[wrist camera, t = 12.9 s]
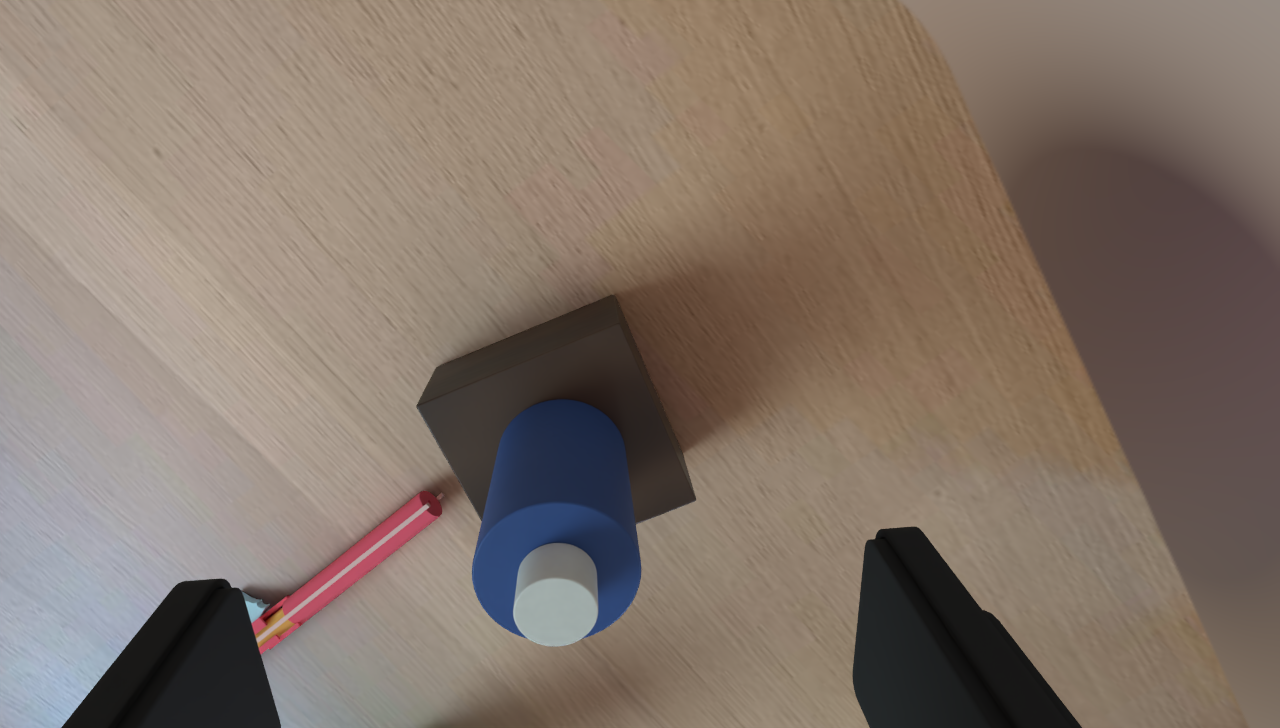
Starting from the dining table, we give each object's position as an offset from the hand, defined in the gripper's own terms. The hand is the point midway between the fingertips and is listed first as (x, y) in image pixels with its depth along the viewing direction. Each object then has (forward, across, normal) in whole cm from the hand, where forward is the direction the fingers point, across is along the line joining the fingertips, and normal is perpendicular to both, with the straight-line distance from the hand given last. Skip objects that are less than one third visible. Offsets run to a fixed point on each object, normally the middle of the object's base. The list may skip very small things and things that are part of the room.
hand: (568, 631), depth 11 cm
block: (+27, +1, +9) cm, 28 cm away
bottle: (+22, +1, +9) cm, 23 cm away
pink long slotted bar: (+26, +18, +20) cm, 38 cm away
